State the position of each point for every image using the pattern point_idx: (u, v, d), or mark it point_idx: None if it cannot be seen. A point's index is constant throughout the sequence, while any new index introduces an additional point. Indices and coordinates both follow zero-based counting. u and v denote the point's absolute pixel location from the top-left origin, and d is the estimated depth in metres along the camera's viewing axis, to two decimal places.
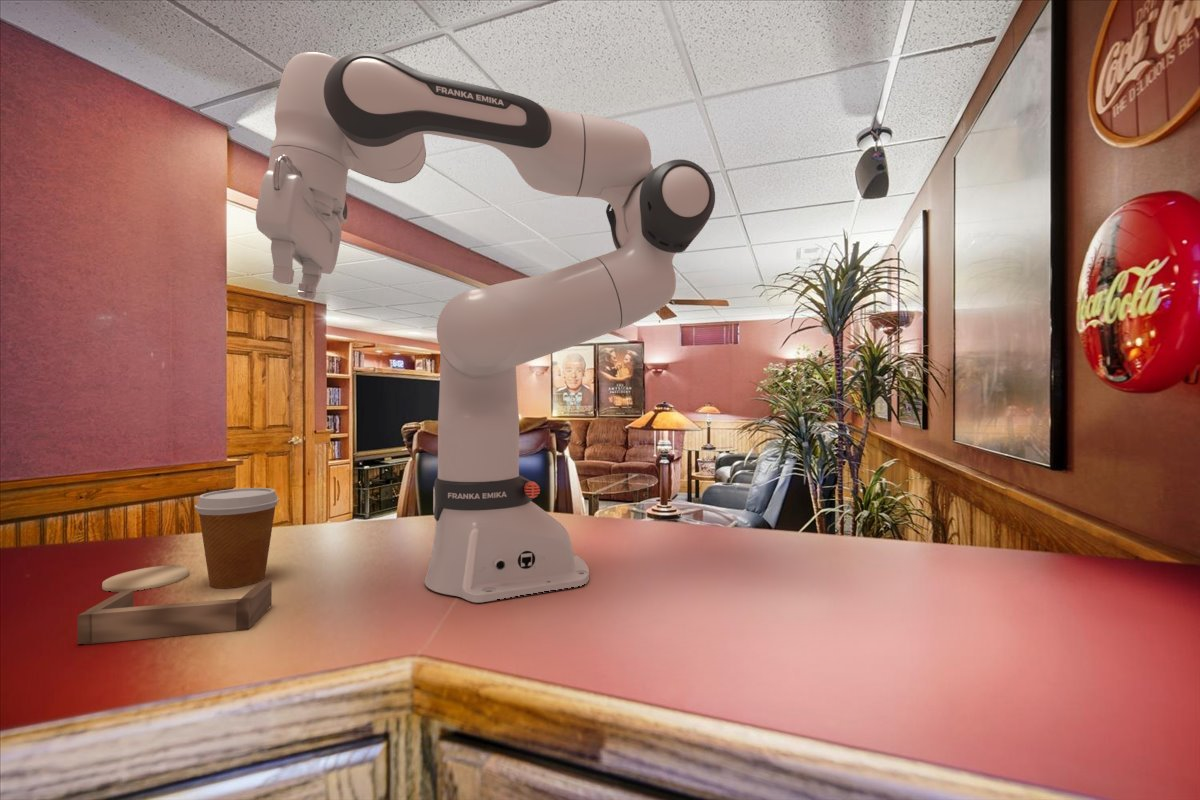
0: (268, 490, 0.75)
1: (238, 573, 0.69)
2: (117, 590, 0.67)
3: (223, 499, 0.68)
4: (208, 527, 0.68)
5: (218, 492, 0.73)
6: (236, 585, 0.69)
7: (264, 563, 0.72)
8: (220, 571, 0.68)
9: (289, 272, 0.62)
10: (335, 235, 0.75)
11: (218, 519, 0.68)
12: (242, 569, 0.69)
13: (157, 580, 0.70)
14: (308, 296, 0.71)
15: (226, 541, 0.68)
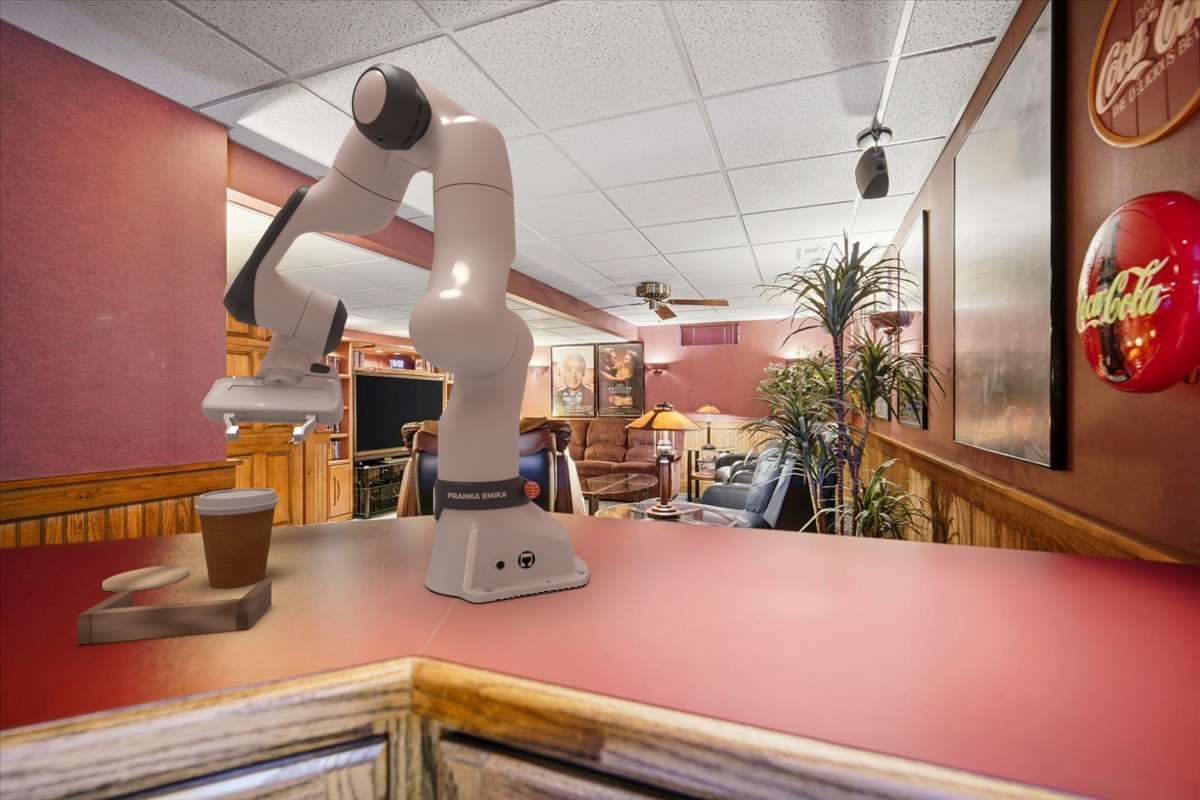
0: (268, 490, 0.75)
1: (238, 573, 0.69)
2: (117, 590, 0.67)
3: (223, 499, 0.68)
4: (208, 527, 0.68)
5: (218, 492, 0.73)
6: (236, 585, 0.69)
7: (264, 563, 0.72)
8: (220, 571, 0.68)
9: (226, 429, 0.82)
10: (328, 387, 0.90)
11: (218, 519, 0.68)
12: (242, 569, 0.69)
13: (157, 580, 0.70)
14: (293, 436, 0.84)
15: (226, 541, 0.68)
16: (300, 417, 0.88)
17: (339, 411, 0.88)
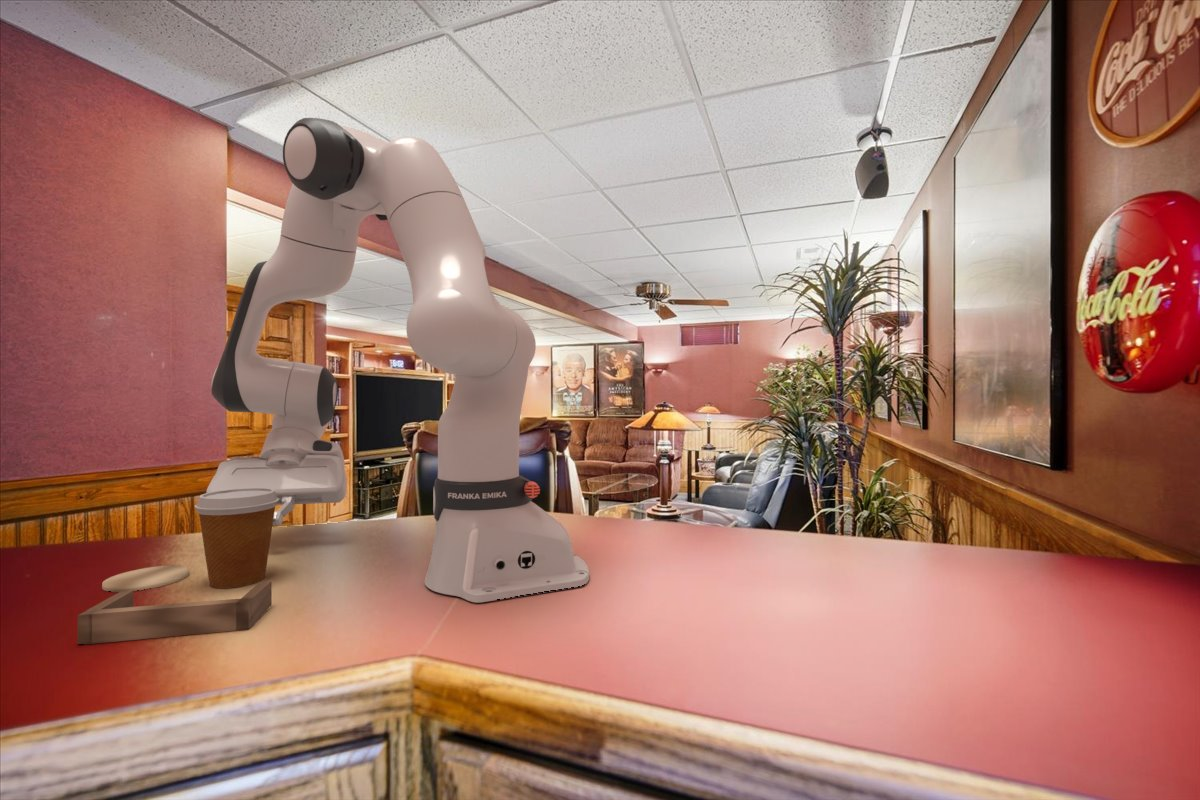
0: (268, 490, 0.75)
1: (238, 573, 0.69)
2: (117, 590, 0.67)
3: (223, 499, 0.68)
4: (208, 527, 0.68)
5: (218, 492, 0.73)
6: (236, 585, 0.69)
7: (264, 563, 0.72)
8: (220, 571, 0.68)
9: None
10: (330, 465, 0.91)
11: (218, 519, 0.68)
12: (242, 569, 0.69)
13: (157, 580, 0.70)
14: None
15: (226, 541, 0.68)
16: (303, 497, 0.88)
17: (342, 490, 0.89)
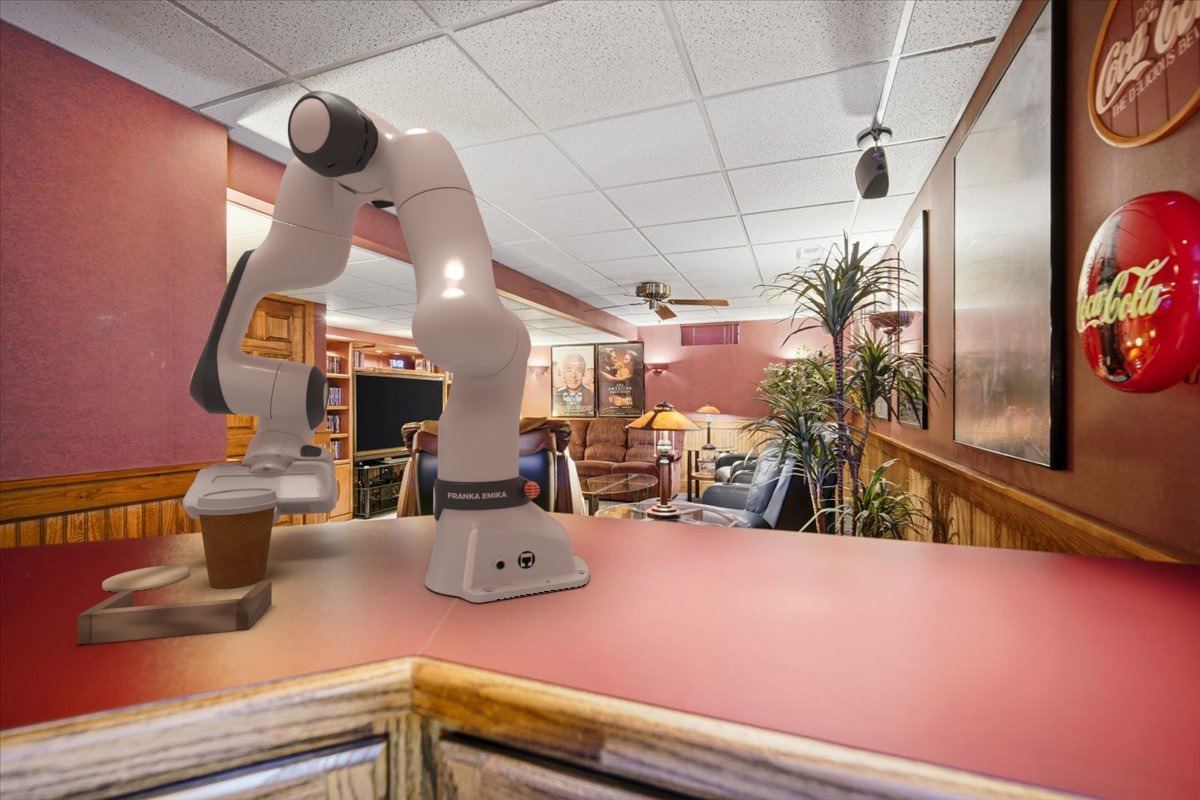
0: (268, 490, 0.75)
1: (238, 573, 0.69)
2: (117, 590, 0.67)
3: (223, 499, 0.68)
4: (208, 527, 0.68)
5: (218, 492, 0.73)
6: (235, 585, 0.69)
7: (264, 563, 0.72)
8: (220, 571, 0.68)
9: None
10: (320, 472, 0.83)
11: (218, 519, 0.68)
12: (242, 569, 0.69)
13: (157, 580, 0.70)
14: None
15: (226, 541, 0.68)
16: (290, 507, 0.81)
17: (332, 499, 0.81)
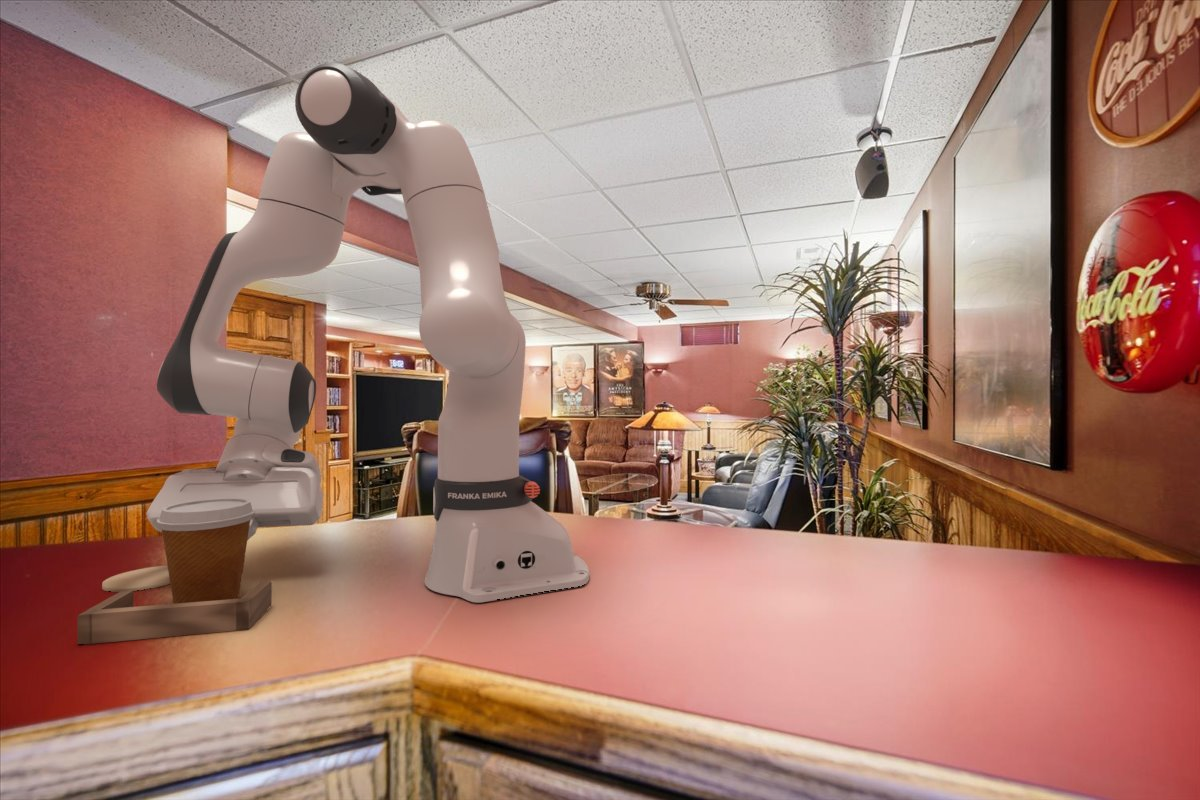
0: (242, 501, 0.67)
1: (207, 596, 0.61)
2: (117, 590, 0.67)
3: (189, 513, 0.59)
4: (172, 545, 0.60)
5: (185, 504, 0.65)
6: None
7: (237, 584, 0.64)
8: (186, 594, 0.60)
9: None
10: (302, 480, 0.75)
11: (184, 535, 0.59)
12: (211, 591, 0.61)
13: (157, 580, 0.70)
14: None
15: (193, 560, 0.60)
16: (269, 519, 0.73)
17: (315, 510, 0.73)
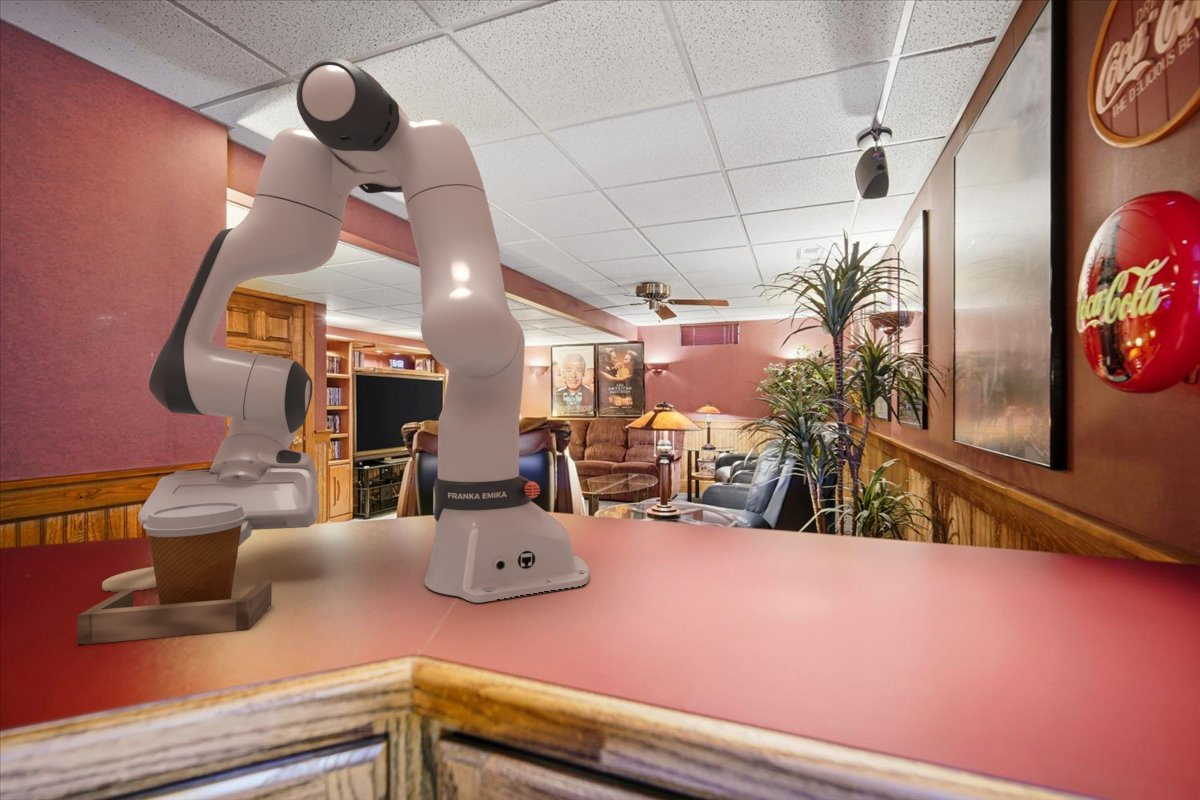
0: (234, 505, 0.64)
1: None
2: (117, 590, 0.67)
3: (177, 518, 0.57)
4: (159, 551, 0.57)
5: (173, 508, 0.62)
6: None
7: (228, 591, 0.62)
8: (173, 603, 0.58)
9: None
10: (298, 481, 0.73)
11: (171, 541, 0.57)
12: (200, 600, 0.59)
13: None
14: None
15: (182, 567, 0.57)
16: (264, 521, 0.71)
17: (312, 512, 0.71)
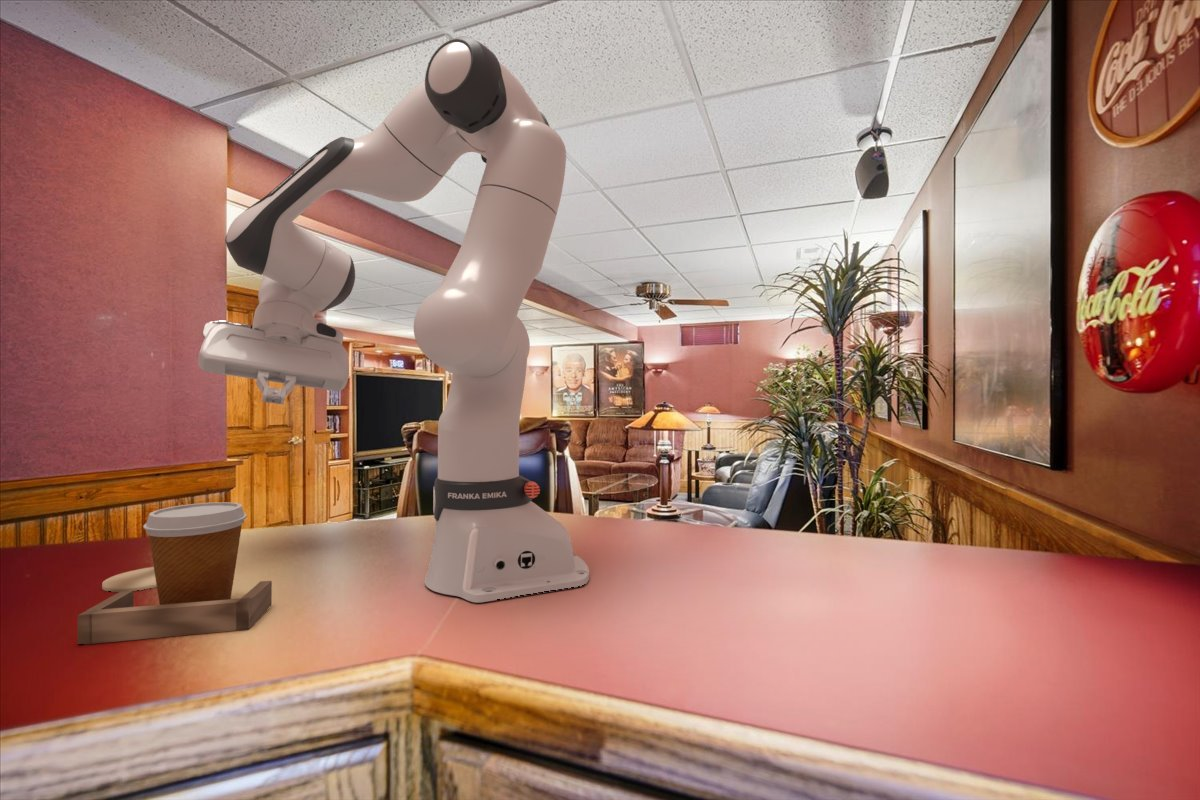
0: (234, 505, 0.64)
1: None
2: (117, 590, 0.67)
3: (177, 517, 0.57)
4: (159, 551, 0.57)
5: (173, 508, 0.62)
6: None
7: (228, 591, 0.62)
8: (173, 603, 0.58)
9: (263, 390, 0.79)
10: (334, 352, 0.88)
11: (172, 541, 0.57)
12: (200, 600, 0.59)
13: None
14: (273, 398, 0.79)
15: (182, 567, 0.57)
16: (303, 379, 0.85)
17: (347, 380, 0.87)
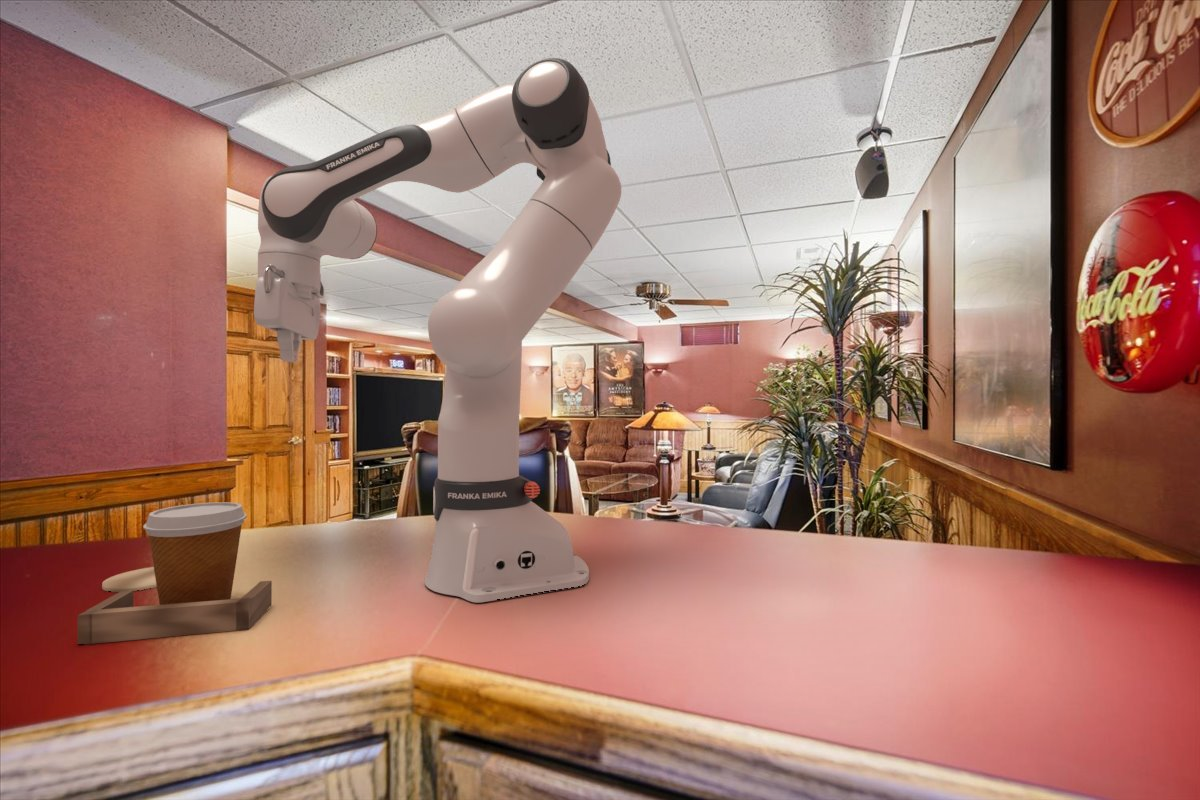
0: (234, 505, 0.64)
1: None
2: (117, 590, 0.67)
3: (177, 518, 0.57)
4: (159, 551, 0.57)
5: (173, 508, 0.62)
6: None
7: (228, 591, 0.62)
8: (173, 603, 0.58)
9: (292, 353, 0.85)
10: (315, 309, 0.94)
11: (171, 541, 0.57)
12: (200, 600, 0.59)
13: None
14: (292, 360, 0.86)
15: (182, 567, 0.57)
16: None
17: None
